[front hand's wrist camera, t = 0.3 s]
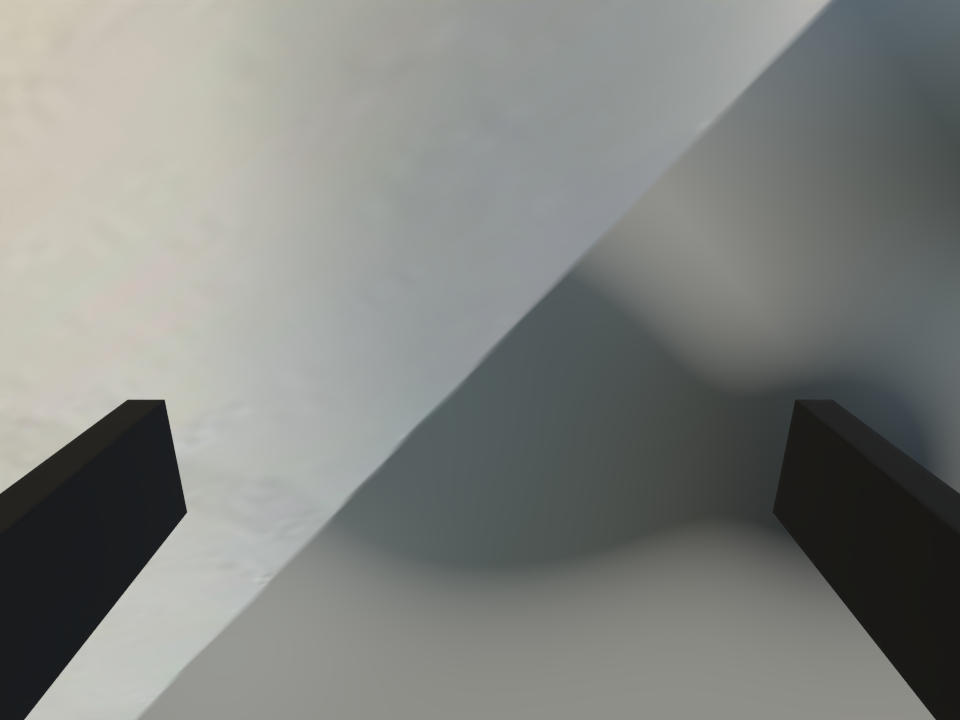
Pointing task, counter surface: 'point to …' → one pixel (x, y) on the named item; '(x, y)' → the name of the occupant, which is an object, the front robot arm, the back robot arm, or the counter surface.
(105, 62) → the counter surface
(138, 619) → the counter surface
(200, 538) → the counter surface
